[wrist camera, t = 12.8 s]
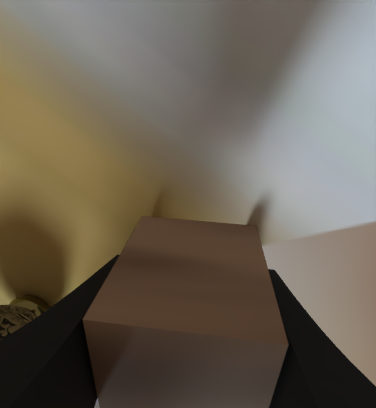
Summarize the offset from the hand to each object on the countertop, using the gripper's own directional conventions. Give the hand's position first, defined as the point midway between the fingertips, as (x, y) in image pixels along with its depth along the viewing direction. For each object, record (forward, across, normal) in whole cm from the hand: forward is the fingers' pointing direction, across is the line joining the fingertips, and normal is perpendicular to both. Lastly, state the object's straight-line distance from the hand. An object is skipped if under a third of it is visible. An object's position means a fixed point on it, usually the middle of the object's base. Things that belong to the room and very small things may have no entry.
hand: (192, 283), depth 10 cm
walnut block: (+1, 0, 0) cm, 1 cm away
